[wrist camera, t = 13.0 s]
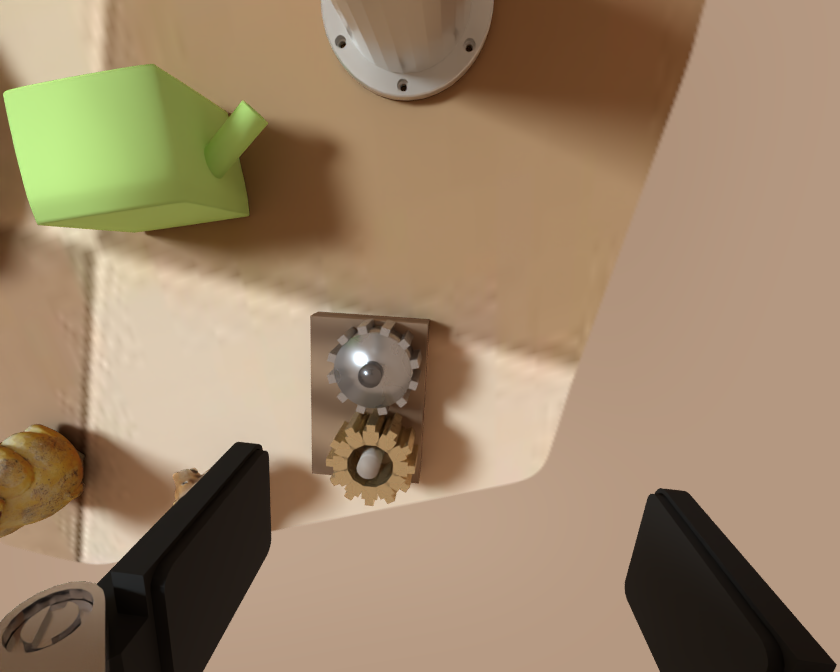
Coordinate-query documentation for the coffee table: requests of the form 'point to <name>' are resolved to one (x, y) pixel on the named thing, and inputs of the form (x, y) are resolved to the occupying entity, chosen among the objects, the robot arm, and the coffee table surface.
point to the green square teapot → (129, 151)
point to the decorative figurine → (37, 476)
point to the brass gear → (384, 437)
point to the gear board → (334, 412)
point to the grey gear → (375, 366)
